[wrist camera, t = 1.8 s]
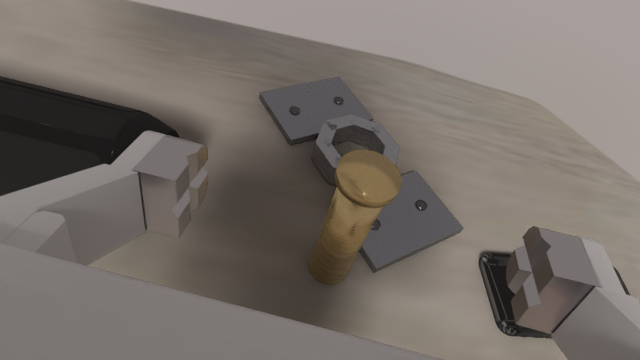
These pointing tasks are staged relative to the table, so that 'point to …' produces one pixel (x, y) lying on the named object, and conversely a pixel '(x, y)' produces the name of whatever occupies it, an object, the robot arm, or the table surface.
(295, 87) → the hinge body
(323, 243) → the pin
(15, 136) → the portable speaker
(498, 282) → the phone
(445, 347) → the table surface
